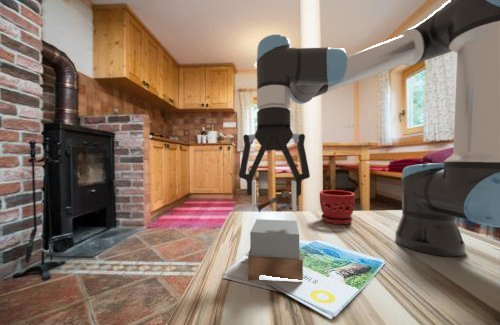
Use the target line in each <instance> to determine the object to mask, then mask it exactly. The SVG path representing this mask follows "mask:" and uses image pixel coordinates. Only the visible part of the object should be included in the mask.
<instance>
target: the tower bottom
mask: <svg viewBox="0 0 500 325" xmlns="http://www.w3.org/2000/svg"><path fill="white" fill-rule="evenodd" d="M303 263H304V262H303V257H302V254H301V251H300V250H299V259H290V258H275V257H259V256H250V250H249V252H248V257H247V279H248V280H247V281H253V280H259V276H260V275H266V276H272V277H280V278H288V279H298V280H303V281H304V279H303V278H304V274H303V271H304V269H303V268H304V266H303V265H304V264H303Z"/></svg>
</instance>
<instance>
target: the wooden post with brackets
mask: <svg viewBox="0 0 500 325" xmlns="http://www.w3.org/2000/svg"><path fill="white" fill-rule="evenodd" d="M289 195H290V191H285V190H284V191H283V190H282V191H280V195H276V196H274V197H272V198H270V199H269V200H267V201H264V202H261V203H256V209H257V211H258V212H259V213H260V214H261V212H262V210H263V209H264V208H266V207H268V206H270V205H273V204H275V203H276V202H279V200H280V201H283V202H284V203H285V204H286V205H280V206H279V207H277V209H275V211H276V212H282V211H285V209H287V207H288V208H289V210H291V211H292V203H291V202H290V201H289V199H288V196H289Z"/></svg>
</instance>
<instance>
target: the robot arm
mask: <svg viewBox="0 0 500 325" xmlns="http://www.w3.org/2000/svg"><path fill="white" fill-rule="evenodd" d="M256 49H257V50H256V52H257V53H256V84H257V85H256V109H258V111H257V112H256V131H255V133H254V134H253V133H252V134H244V135H243V144H244V146H243V151H242V157H241V162H240V167H239V168H240V169H239V171H238V172H239V173H238V177H239V179H243V180H245V181H246V193H247V196H251V211H253V212H255V211H256V209H257V206H256V204H257V180H254V177H255V175H256V172H257V171H258V168H259V166H260V164H261V161H262V160H263V158H264V155H265V153H266V152H271V151H276V152H281V153H282V154H283V156H284V159H285V161H286V163H287V165H288V167H289V169H290V171H291V173H292V176H293V178H294V180H291V207H292V209H291V211H292V212H297V197H298V196H301V195H302V181H303V180H307V179H309V178H310V177H311V174H310V169H309V165H308V159H307V154H306V149H305V140H306V139H305V138H306V136H305V134H304V133H301V134H299V133H298V134H297V133H293V131H292V129H291V110H290V107H291V100H292V101H293V102H294V103H296V104H301V105H304V104H306V103H308V102H310V101H311V100H312V99H313V98H316V97H319V96H321V95H323V94H326V93H329V92H331V91H335V90H338V89H339V88H342V87H343V88H344V87H346V86H348V85H350V84H355V83H356V82H359V81H362V80H364V79H367V78H371V77H373V76H375V75H378V74H380V73H384V72H386V71H389V70H392V69H394V68H397V67H400V66H402V65H403V66H406V67H407V66H413V65H416V64H419V63H421V62H425V61H427V60H431V59H433V58H436V57H441V56H444V55H447V54H448V53H451V52H454V53H456V54H457V55H456V77H455V78H456V80H455V97H454V98H455V99H454V100H455V102H454V104H455V105H454V126H453V127H454V129H453V153H452V154H451V155H450V156H449V157H447V158H446V159H445V160H443V162H438V163H437V162H435V163H424V164H423V163H422V164H421V163H420V164H413V165H407V166H405V167H403V169H402V175H401V182H402V183H401V190H402V191H401V194H402V195H401V197H402V198H401V203H402V205H401V206H402V209H401V210H402V216H401V218H400V221H399V223H398V226H397V229H396V230H395V241H396V243H398V244H399V245H400V246H403V247H405V248H406V249H407V248H408V249H409V250H413V251H417V252H420V253H425V254H428V255H433V256H438V257H439V256H440V257H462V256H464V255H465V254H466V244H465V241H464V239H463V236H462V234H461V232H460V230H459V227H458V224H457V221H456V220H457V219H456V218H459V219H463V220H467V221H470V222H472V223H475V224H477V225H484V226H485V225H486V226H491V227H494V228H500V0H448V1H446V2H445V3H444V4H442V6H440V7H438V9H436V10H435V11H434V12H433V13H432V14H430V15H429V16H428V17H427V18H426V19H425V18H424V20H423V21H421V22H419V23H418V24H416V25H415V26H413V27H411V28H408V29H405V30H404V31H402V32H401V33H400V34H399V35H398V37H394V38H392V39H388V40H386V41H384V42H381V43H378V44H376V45H372V46H371V47H368V48H365V49H362V50H359V51H357V52H355V53H354V52H353V53H352V54H349V55H347V54H348V53H347V52H346V51H345V48H340V47H339V48H338V47H329V46H327V47H300V48H297V47H292V46H291V41H290V39H289V38H288V37H287V36H285V35H283V36H282V35H281V34H270V35H268V36H264V37H263V38H262V39H260V41H259V43H258V46H257V48H256ZM292 139H293V142H294V144H295V145H296V148H297V154H298V159H299V160H298V161H299V164H300V170H301V173H300V171H299V170H298V168H297V165H296V163H295V161H294V159H293V157H292V155H291V152H290V150H289V148H288V146H287V145H288V144H289V143H290V141H291V140H292ZM255 140H256V141H257V142H258V144H259V145H260V148H259V150H258V153H257V155H256V157H255V159H254V162H253V163H252V165H251V168H250V170H249V172H248V173H247V168H248V163H249V157H250V153H251V145H253V144H254V141H255Z"/></svg>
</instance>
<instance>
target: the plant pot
mask: <svg viewBox="0 0 500 325" xmlns="http://www.w3.org/2000/svg"><path fill="white" fill-rule="evenodd" d="M355 201H356V194H355V192H352V191H347V190H341V189H326V190H325V189H324V190H321V191H320V192H319V203H320V204H319V205H320V209H321V212H322V214H321V218H322V220H323V221H324V222H326V223H329V224H333V225H348V224H350V223H351V222H352V221H353V216H352V215H353V212H354V209H355Z"/></svg>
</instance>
